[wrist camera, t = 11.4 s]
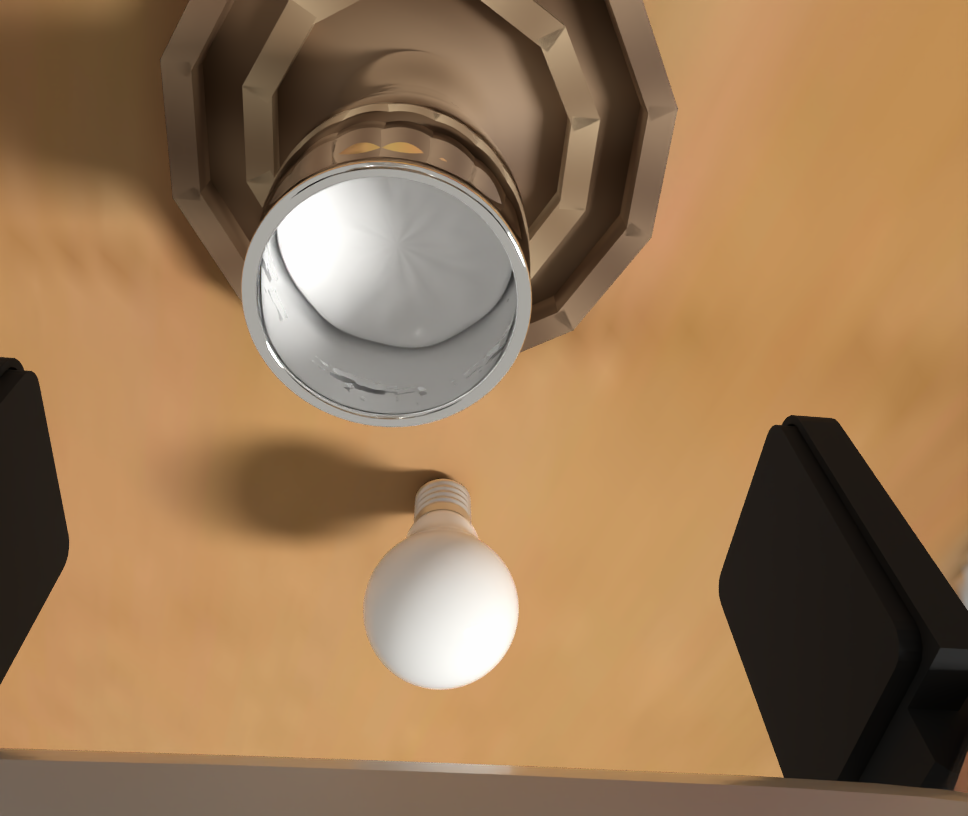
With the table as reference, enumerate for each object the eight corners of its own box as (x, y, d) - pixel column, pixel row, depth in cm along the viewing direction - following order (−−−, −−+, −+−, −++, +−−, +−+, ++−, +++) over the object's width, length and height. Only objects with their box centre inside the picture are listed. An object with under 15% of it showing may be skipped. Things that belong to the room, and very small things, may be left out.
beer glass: (374, 254, 35) (330, 474, 22) (283, 89, 31) (166, 236, 19) (535, 181, 33) (586, 370, 21) (457, 0, 30) (461, 93, 17)
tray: (160, -173, 28) (135, -177, 26) (704, -110, 29) (725, -109, 27) (200, 328, 37) (184, 357, 35) (612, 358, 39) (622, 387, 37)
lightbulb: (523, 525, 44) (543, 703, 34) (403, 556, 44) (390, 738, 35) (486, 423, 40) (496, 589, 31) (357, 458, 41) (330, 630, 32)
